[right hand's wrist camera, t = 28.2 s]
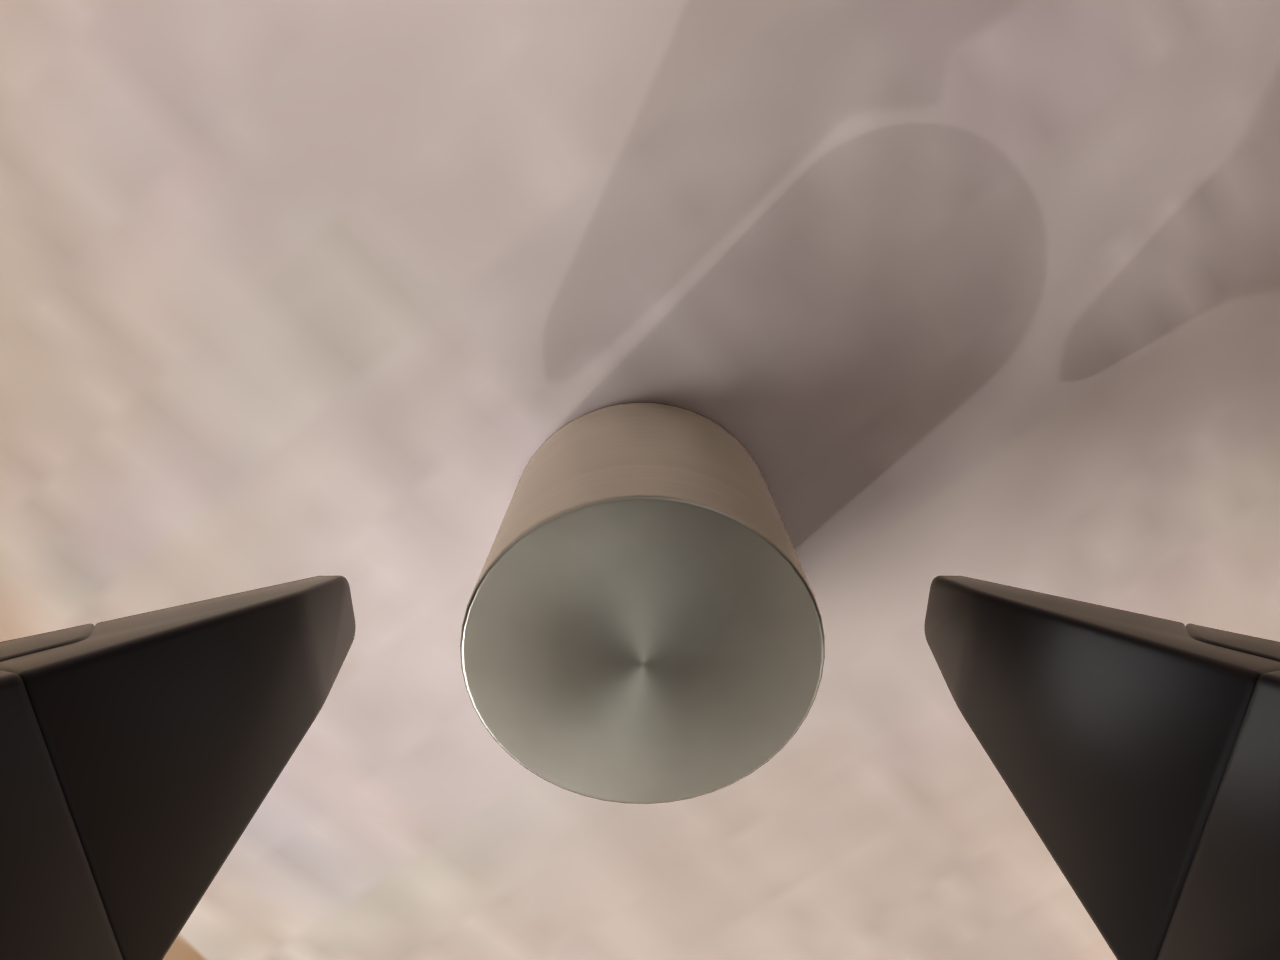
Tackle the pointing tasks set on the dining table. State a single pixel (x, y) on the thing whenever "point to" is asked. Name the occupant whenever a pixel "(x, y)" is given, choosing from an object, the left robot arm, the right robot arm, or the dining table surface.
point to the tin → (642, 612)
